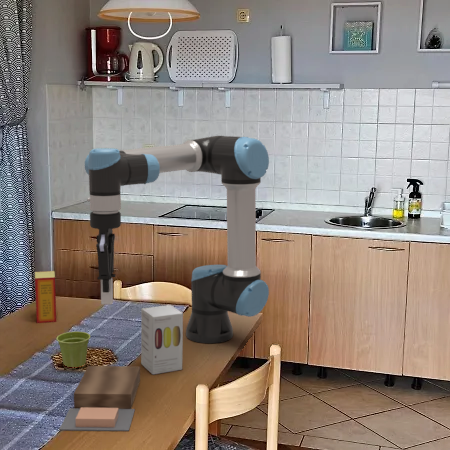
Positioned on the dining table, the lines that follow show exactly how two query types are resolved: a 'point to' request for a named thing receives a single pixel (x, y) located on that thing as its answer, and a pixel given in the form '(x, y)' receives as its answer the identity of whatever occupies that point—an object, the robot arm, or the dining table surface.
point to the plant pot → (73, 348)
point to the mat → (121, 425)
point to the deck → (107, 387)
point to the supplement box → (161, 339)
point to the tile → (97, 417)
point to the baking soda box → (45, 296)
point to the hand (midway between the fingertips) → (107, 303)
